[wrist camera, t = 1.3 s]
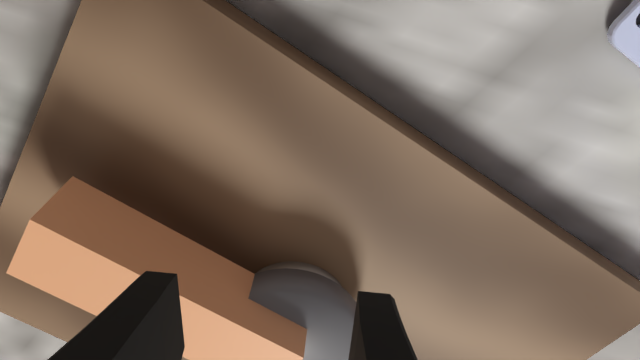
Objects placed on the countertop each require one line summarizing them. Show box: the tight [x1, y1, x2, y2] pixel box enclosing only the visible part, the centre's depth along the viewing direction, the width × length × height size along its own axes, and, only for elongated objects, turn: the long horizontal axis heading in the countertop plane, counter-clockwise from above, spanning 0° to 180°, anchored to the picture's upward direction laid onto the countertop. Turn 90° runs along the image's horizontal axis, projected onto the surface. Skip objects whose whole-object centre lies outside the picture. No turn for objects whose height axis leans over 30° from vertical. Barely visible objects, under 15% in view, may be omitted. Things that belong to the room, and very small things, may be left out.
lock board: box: [0, 0, 640, 360], centre depth 20 cm, size 17×22×2 cm
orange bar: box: [6, 176, 356, 360], centre depth 17 cm, size 12×5×2 cm, turn 56°
